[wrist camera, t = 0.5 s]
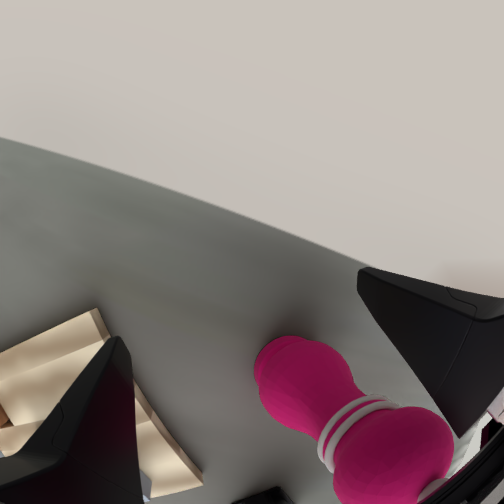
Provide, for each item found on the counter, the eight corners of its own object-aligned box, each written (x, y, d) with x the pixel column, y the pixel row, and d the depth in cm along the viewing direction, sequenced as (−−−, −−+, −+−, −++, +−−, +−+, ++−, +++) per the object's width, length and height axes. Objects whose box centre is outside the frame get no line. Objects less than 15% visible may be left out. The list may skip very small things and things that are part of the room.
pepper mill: (238, 343, 23) (376, 526, 3) (314, 319, 25) (521, 390, 5) (259, 410, 23) (367, 578, 3) (327, 384, 25) (483, 491, 5)
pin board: (202, 473, 21) (203, 484, 19) (52, 496, 16) (48, 504, 14) (97, 307, 20) (89, 311, 19) (-35, 370, 15) (-44, 374, 13)
